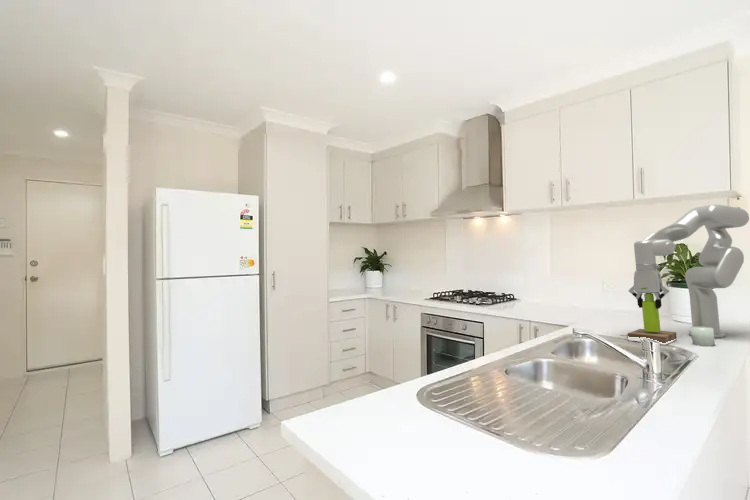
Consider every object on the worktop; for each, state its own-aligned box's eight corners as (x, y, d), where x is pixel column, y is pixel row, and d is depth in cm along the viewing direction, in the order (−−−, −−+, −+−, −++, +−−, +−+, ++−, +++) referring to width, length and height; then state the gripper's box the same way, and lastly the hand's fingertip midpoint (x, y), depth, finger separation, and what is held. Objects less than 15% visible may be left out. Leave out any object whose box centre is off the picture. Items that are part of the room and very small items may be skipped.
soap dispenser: (640, 331, 170) (635, 287, 171) (649, 329, 173) (644, 285, 174) (654, 332, 165) (649, 287, 166) (663, 330, 168) (658, 286, 169)
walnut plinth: (640, 336, 179) (639, 328, 179) (676, 340, 167) (676, 332, 168) (628, 341, 171) (627, 333, 171) (665, 345, 159) (664, 337, 159)
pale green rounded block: (695, 342, 162) (694, 325, 163) (716, 344, 157) (715, 327, 157) (690, 344, 158) (688, 328, 159) (712, 347, 153) (710, 329, 153)
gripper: (672, 266, 165) (676, 308, 165) (628, 268, 180) (631, 305, 179) (665, 267, 161) (669, 310, 160) (621, 268, 175) (624, 307, 175)
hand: (649, 307), depth 170 cm, fingers closed on soap dispenser, 5 cm apart
